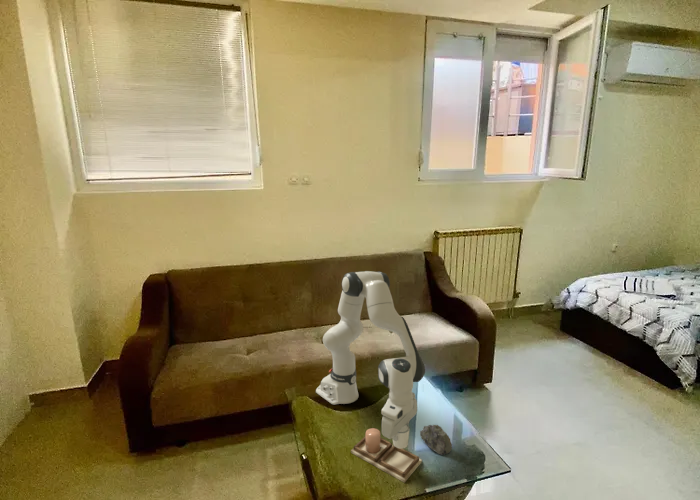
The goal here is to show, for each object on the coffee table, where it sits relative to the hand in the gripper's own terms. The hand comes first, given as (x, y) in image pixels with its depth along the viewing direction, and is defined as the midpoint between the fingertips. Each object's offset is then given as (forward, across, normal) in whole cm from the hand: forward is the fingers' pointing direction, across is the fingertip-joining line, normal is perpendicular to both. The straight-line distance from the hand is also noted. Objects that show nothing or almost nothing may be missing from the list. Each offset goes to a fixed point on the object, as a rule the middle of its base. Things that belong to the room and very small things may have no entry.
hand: (400, 435), depth 149 cm
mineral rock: (+13, -18, +6) cm, 23 cm away
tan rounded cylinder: (+12, 0, -13) cm, 17 cm away
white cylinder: (+4, 0, 0) cm, 4 cm away
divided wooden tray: (+13, 0, -6) cm, 14 cm away
